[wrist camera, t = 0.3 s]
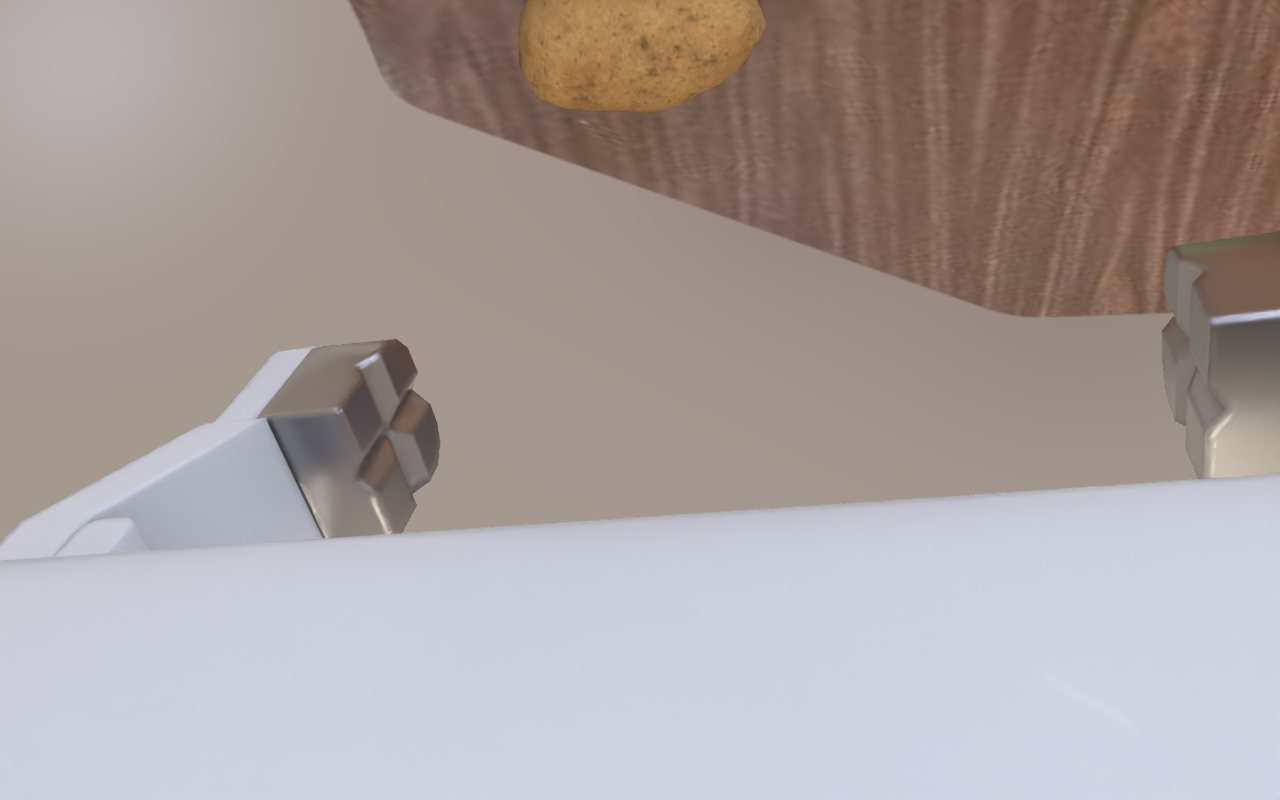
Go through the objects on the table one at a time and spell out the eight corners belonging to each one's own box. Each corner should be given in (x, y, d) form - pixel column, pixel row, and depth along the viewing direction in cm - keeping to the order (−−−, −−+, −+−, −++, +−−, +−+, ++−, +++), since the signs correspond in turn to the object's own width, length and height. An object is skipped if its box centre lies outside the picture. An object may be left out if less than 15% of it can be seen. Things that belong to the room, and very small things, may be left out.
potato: (777, 40, 67) (776, 122, 62) (555, 74, 71) (538, 155, 66) (752, -116, 60) (749, -37, 55) (506, -70, 63) (483, 9, 58)
